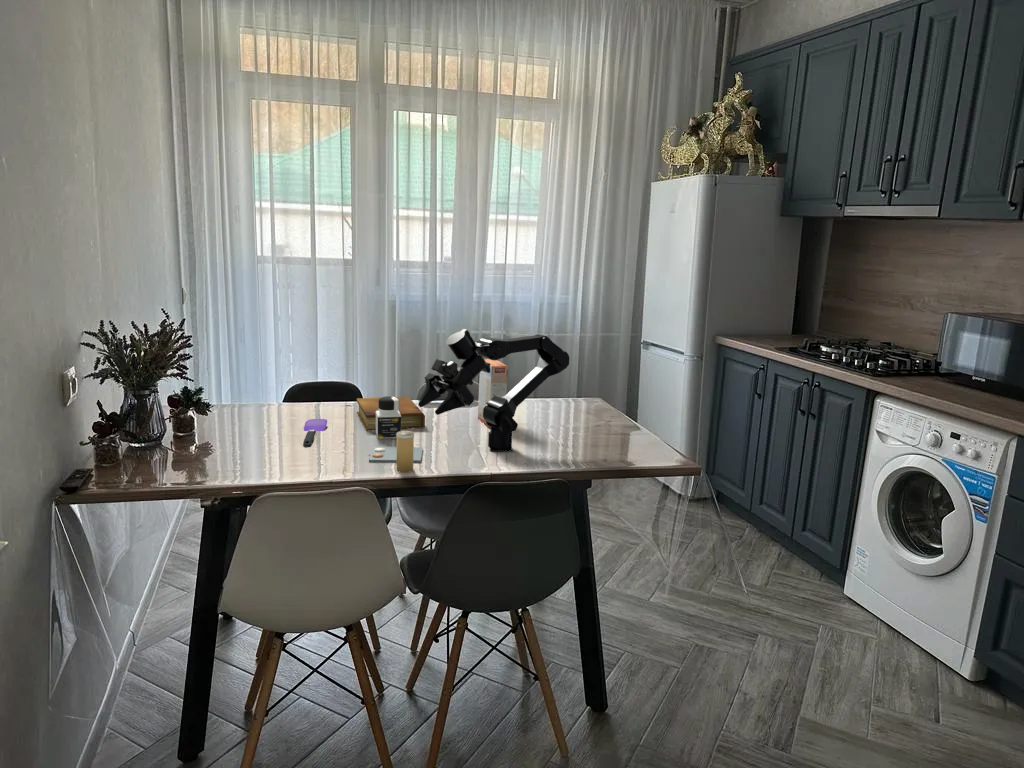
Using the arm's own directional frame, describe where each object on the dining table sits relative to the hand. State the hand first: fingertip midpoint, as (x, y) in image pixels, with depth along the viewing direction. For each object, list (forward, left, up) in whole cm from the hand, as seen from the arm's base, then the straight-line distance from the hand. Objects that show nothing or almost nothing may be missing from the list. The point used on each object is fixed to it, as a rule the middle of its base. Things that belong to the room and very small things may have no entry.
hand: (427, 409), depth 190 cm
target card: (+8, -5, -15) cm, 18 cm away
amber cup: (+5, +7, -15) cm, 17 cm away
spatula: (+35, -24, -15) cm, 45 cm away
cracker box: (-21, -42, -15) cm, 49 cm away
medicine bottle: (+12, -25, -15) cm, 32 cm away
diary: (+13, -43, -15) cm, 48 cm away
